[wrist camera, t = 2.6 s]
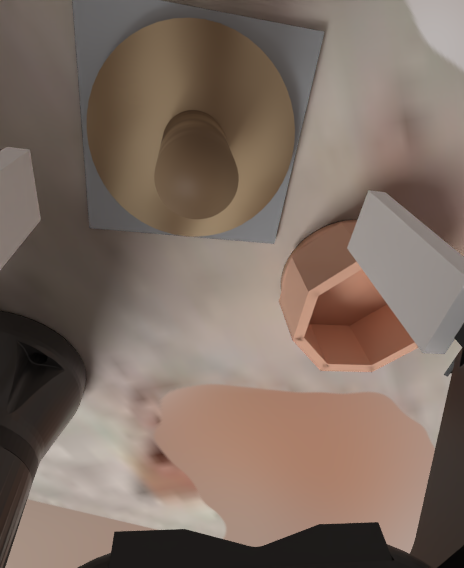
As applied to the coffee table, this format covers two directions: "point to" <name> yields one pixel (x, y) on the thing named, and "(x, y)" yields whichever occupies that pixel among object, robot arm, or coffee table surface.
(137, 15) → the mat
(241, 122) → the lid
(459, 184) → the coffee table surface
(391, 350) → the bowl
